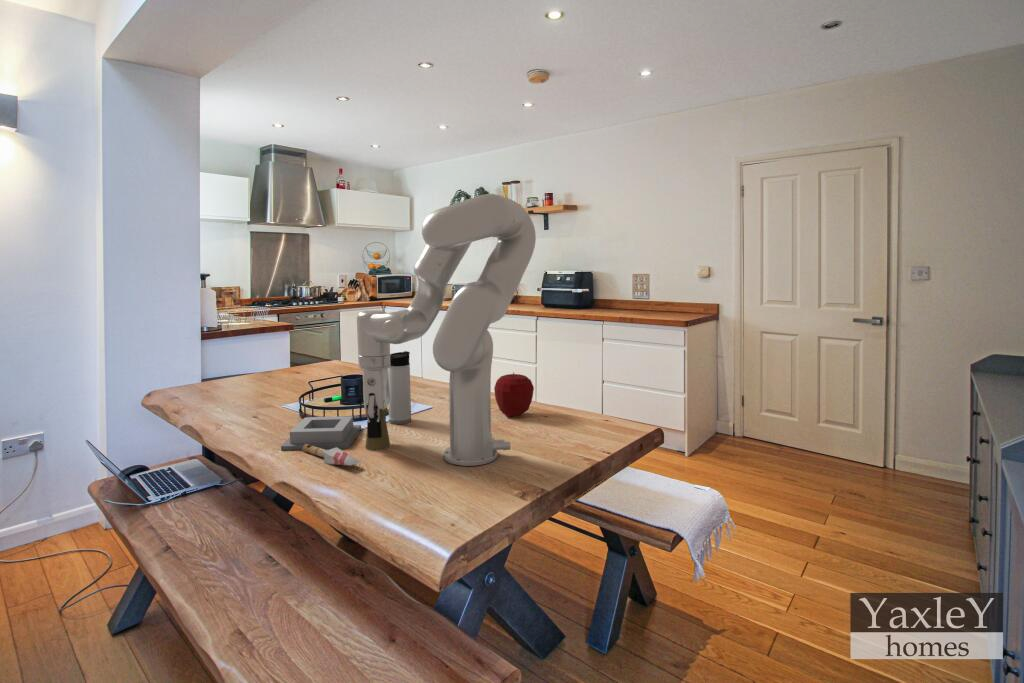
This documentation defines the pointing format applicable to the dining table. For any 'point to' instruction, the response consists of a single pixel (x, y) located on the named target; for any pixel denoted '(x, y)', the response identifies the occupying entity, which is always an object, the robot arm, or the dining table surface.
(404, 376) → the travel mug
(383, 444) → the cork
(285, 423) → the dining table surface
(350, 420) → the holder
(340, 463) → the paintbrush
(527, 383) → the apple
